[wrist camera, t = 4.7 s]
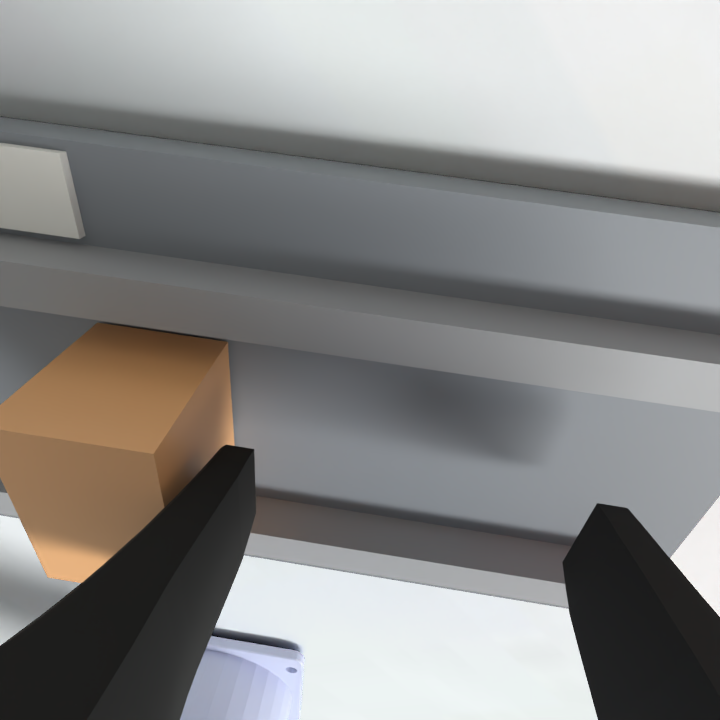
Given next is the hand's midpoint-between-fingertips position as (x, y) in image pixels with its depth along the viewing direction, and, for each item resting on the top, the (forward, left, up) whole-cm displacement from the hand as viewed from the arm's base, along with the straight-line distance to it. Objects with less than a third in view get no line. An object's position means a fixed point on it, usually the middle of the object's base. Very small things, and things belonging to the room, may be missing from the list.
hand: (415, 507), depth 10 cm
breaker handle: (0, +6, -2) cm, 6 cm away
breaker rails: (0, +4, -3) cm, 6 cm away
